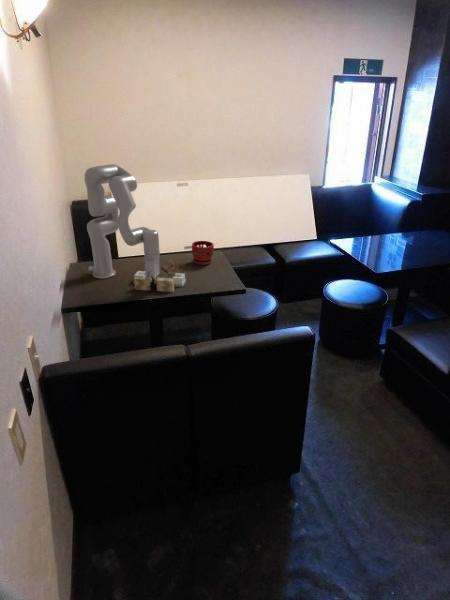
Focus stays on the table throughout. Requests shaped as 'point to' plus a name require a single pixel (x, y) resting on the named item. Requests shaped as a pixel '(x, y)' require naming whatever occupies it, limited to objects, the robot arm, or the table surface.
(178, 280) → the endcap board
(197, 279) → the table surface
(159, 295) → the table surface
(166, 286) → the slat
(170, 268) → the wooden fragment
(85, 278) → the table surface
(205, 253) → the plant pot
